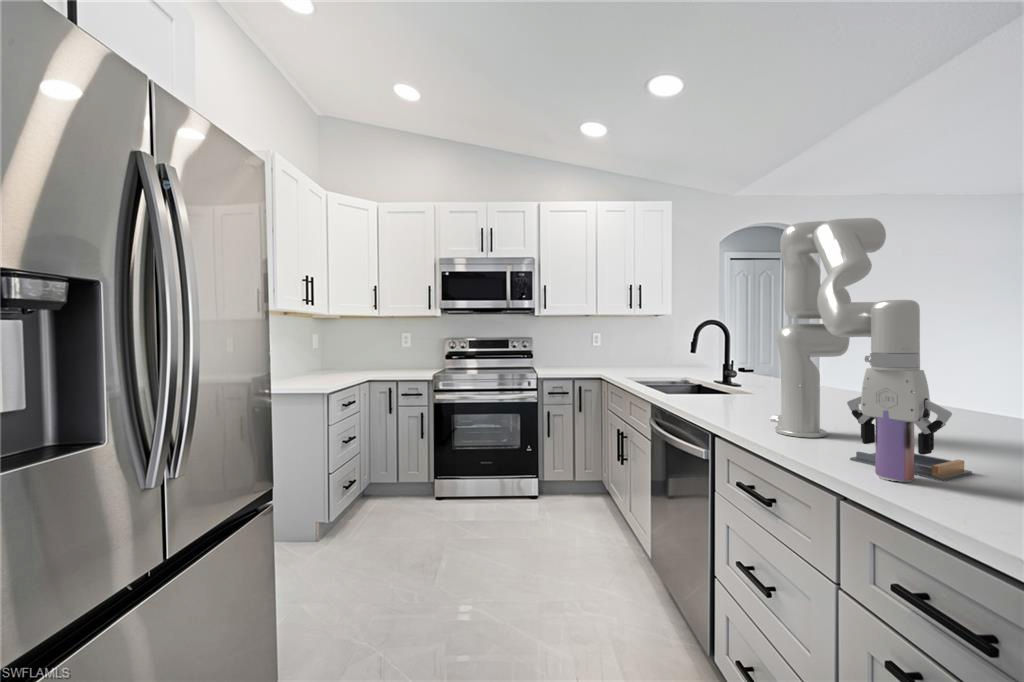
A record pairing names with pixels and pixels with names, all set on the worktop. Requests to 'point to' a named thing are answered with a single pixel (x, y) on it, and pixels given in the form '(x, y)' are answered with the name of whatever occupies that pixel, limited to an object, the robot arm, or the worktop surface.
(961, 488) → the worktop surface
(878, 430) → the beverage can
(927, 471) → the dock
